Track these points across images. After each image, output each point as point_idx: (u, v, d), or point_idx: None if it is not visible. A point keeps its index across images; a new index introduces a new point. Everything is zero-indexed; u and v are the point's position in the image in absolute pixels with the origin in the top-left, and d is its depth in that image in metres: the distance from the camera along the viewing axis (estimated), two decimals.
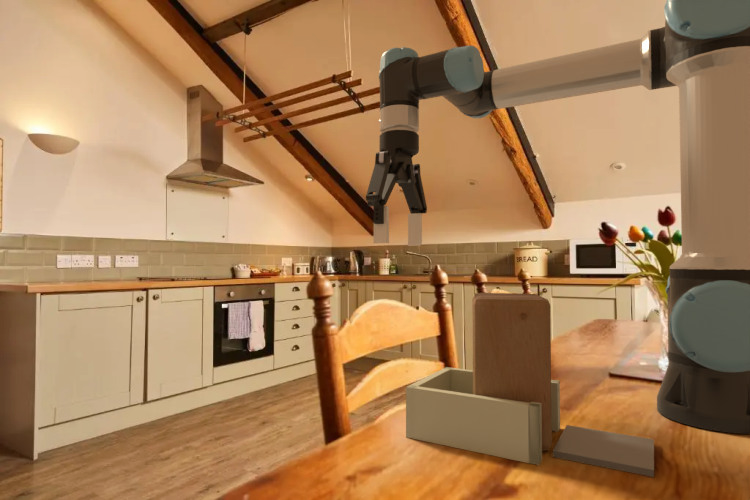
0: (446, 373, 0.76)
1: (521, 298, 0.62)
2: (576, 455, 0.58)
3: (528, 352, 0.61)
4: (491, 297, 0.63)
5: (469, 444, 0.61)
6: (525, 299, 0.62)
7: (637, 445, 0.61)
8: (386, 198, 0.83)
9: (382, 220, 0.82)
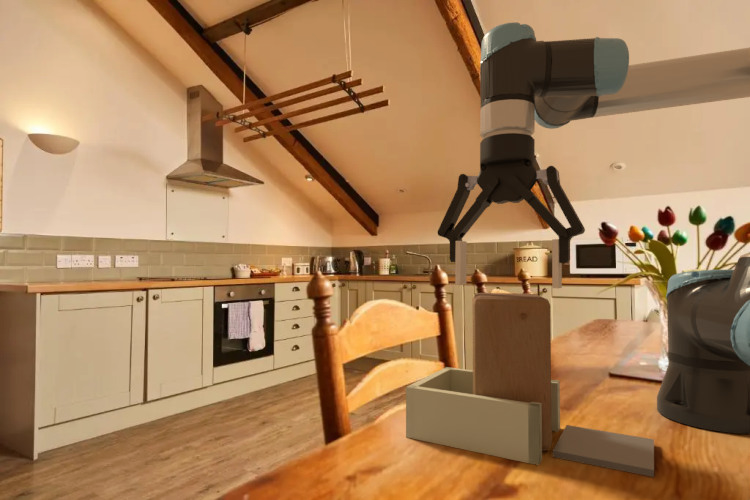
0: (446, 373, 0.76)
1: (521, 298, 0.62)
2: (576, 455, 0.58)
3: (528, 352, 0.61)
4: (491, 297, 0.63)
5: (469, 444, 0.61)
6: (525, 299, 0.62)
7: (637, 445, 0.61)
8: (456, 232, 0.70)
9: (454, 258, 0.70)
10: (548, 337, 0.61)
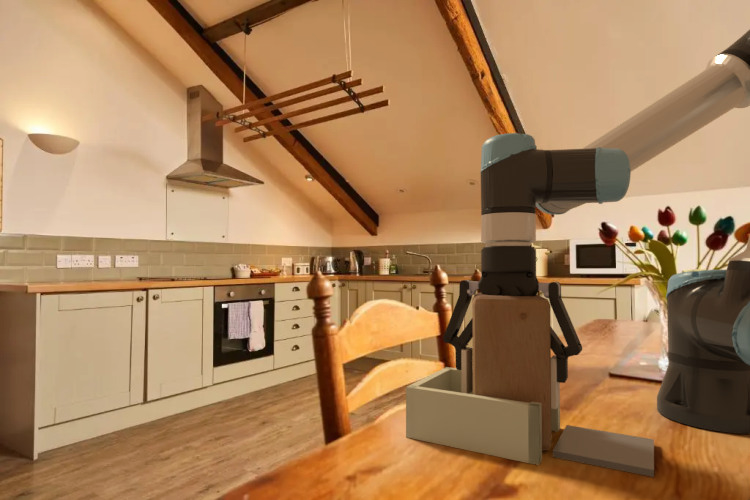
0: (446, 373, 0.76)
1: (521, 298, 0.62)
2: (576, 455, 0.58)
3: (528, 352, 0.61)
4: (491, 297, 0.63)
5: (469, 444, 0.61)
6: (525, 299, 0.62)
7: (637, 445, 0.61)
8: (462, 340, 0.69)
9: (460, 366, 0.69)
10: (548, 337, 0.61)
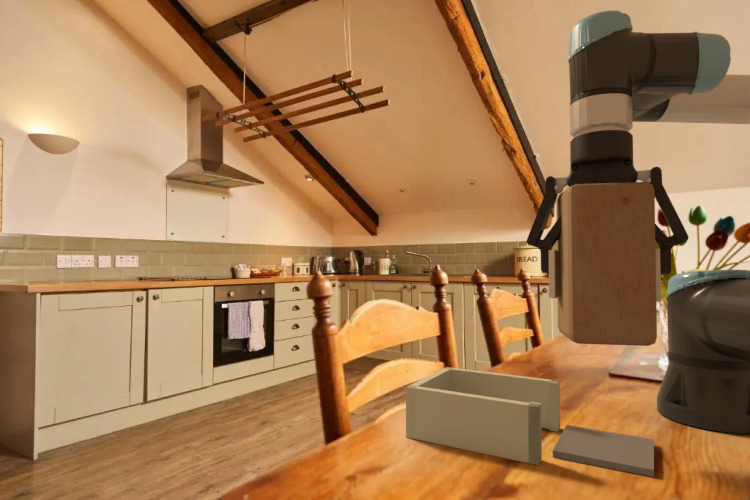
0: (446, 373, 0.76)
1: (622, 183, 0.58)
2: (576, 455, 0.58)
3: (632, 239, 0.57)
4: (588, 184, 0.59)
5: (469, 444, 0.61)
6: (627, 183, 0.57)
7: (637, 445, 0.61)
8: (549, 240, 0.64)
9: (546, 268, 0.65)
10: (653, 223, 0.57)
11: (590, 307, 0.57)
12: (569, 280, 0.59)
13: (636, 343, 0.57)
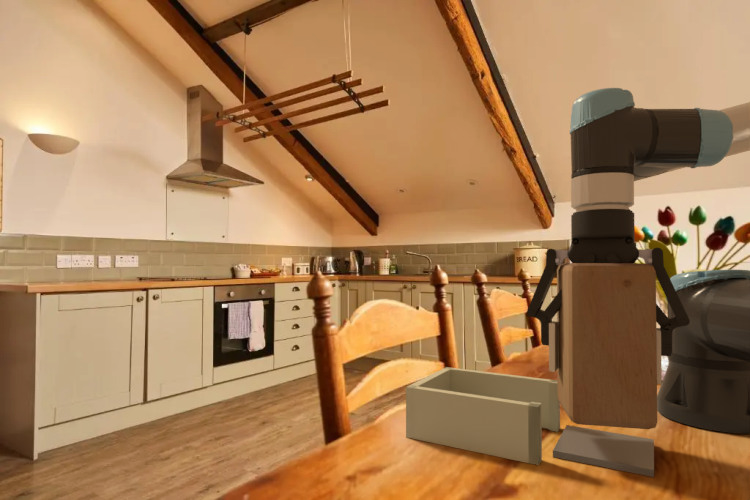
0: (446, 373, 0.76)
1: (623, 264, 0.57)
2: (576, 455, 0.58)
3: (633, 322, 0.56)
4: (589, 264, 0.58)
5: (469, 444, 0.61)
6: (628, 265, 0.57)
7: (637, 445, 0.61)
8: (549, 313, 0.64)
9: (546, 341, 0.65)
10: (654, 306, 0.56)
11: (590, 389, 0.57)
12: (569, 360, 0.59)
13: (636, 427, 0.56)
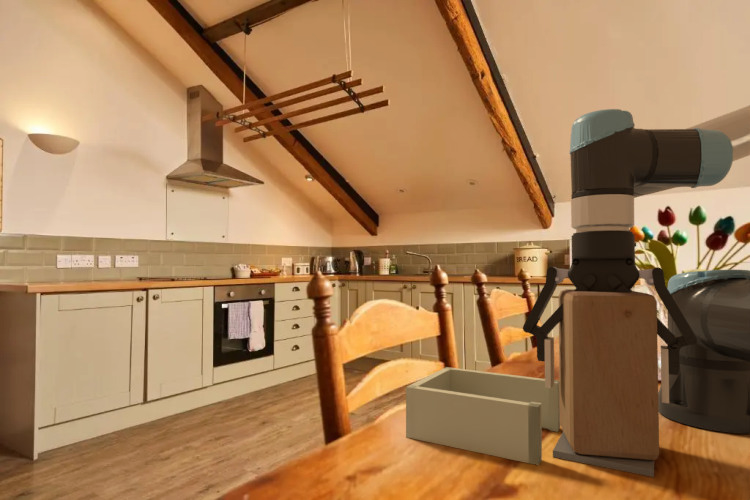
0: (446, 373, 0.76)
1: (624, 294, 0.57)
2: (576, 455, 0.58)
3: (634, 353, 0.56)
4: (590, 293, 0.58)
5: (469, 444, 0.61)
6: (629, 295, 0.57)
7: None
8: (545, 329, 0.64)
9: (542, 357, 0.65)
10: (655, 337, 0.56)
11: (591, 419, 0.57)
12: (570, 390, 0.59)
13: (638, 458, 0.56)
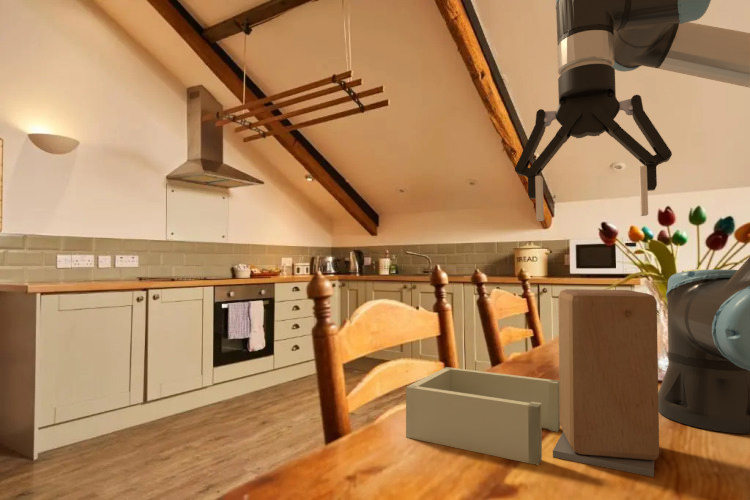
0: (446, 373, 0.76)
1: (624, 294, 0.57)
2: (576, 455, 0.58)
3: (634, 353, 0.56)
4: (590, 293, 0.58)
5: (469, 444, 0.61)
6: (629, 295, 0.57)
7: None
8: (535, 167, 0.70)
9: (533, 194, 0.70)
10: (655, 337, 0.56)
11: (591, 419, 0.57)
12: (570, 390, 0.59)
13: (638, 458, 0.56)
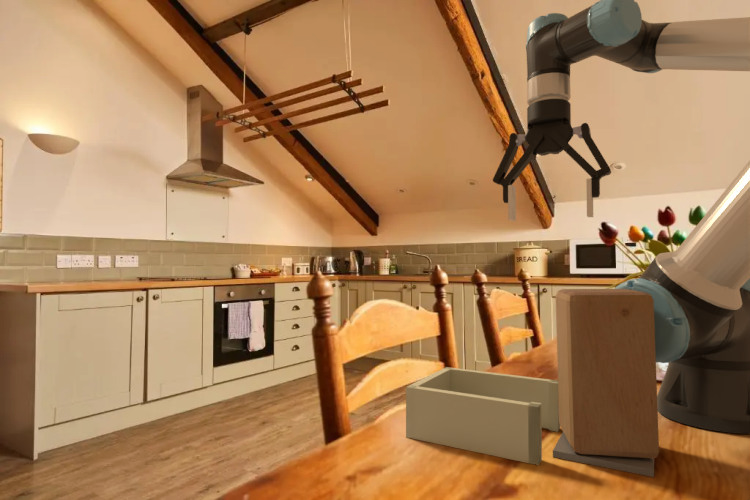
0: (446, 373, 0.76)
1: (621, 293, 0.57)
2: (576, 455, 0.58)
3: (632, 351, 0.56)
4: (587, 293, 0.58)
5: (469, 444, 0.61)
6: (626, 294, 0.57)
7: None
8: (508, 178, 0.89)
9: (506, 199, 0.89)
10: (653, 335, 0.56)
11: (591, 419, 0.57)
12: (569, 390, 0.59)
13: (638, 456, 0.56)
